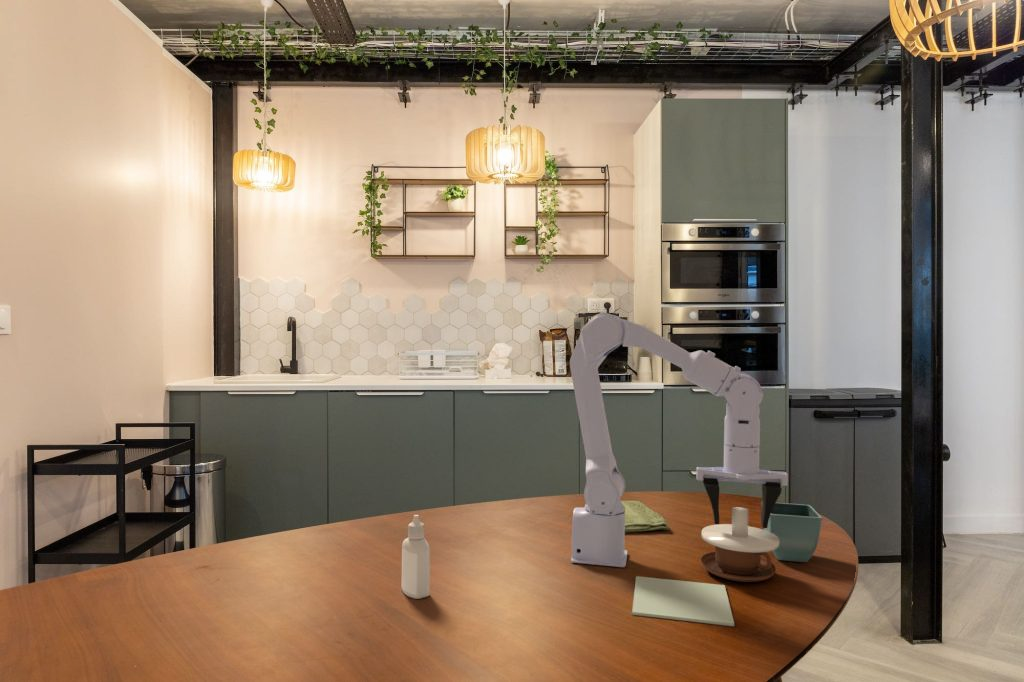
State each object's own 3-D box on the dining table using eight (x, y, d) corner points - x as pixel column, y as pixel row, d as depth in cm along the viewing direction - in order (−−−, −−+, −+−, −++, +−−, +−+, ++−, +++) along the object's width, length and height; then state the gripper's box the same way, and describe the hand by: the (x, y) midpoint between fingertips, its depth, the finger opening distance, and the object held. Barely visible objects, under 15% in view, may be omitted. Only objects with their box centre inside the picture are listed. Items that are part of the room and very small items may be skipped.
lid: (701, 547, 103) (702, 515, 103) (701, 525, 115) (701, 497, 115) (783, 556, 100) (784, 523, 100) (774, 532, 112) (775, 503, 112)
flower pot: (822, 568, 111) (823, 517, 111) (768, 564, 113) (769, 513, 113) (809, 551, 120) (810, 504, 120) (759, 547, 122) (760, 501, 121)
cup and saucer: (782, 571, 110) (782, 536, 110) (766, 594, 100) (767, 555, 100) (712, 557, 116) (713, 523, 116) (691, 577, 107) (691, 540, 106)
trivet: (632, 614, 91) (632, 611, 91) (636, 578, 105) (636, 576, 105) (734, 626, 88) (734, 623, 88) (724, 587, 102) (724, 585, 102)
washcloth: (613, 537, 128) (613, 521, 128) (585, 512, 145) (585, 498, 145) (673, 534, 131) (673, 518, 131) (639, 510, 148) (639, 496, 148)
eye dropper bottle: (400, 600, 95) (401, 521, 95) (401, 585, 101) (402, 510, 100) (429, 599, 96) (430, 520, 95) (429, 585, 101) (430, 510, 101)
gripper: (698, 446, 106) (697, 527, 106) (792, 451, 102) (790, 535, 102) (696, 439, 112) (695, 516, 113) (784, 444, 109) (782, 522, 109)
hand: (740, 524), depth 108 cm, fingers open, 7 cm apart
